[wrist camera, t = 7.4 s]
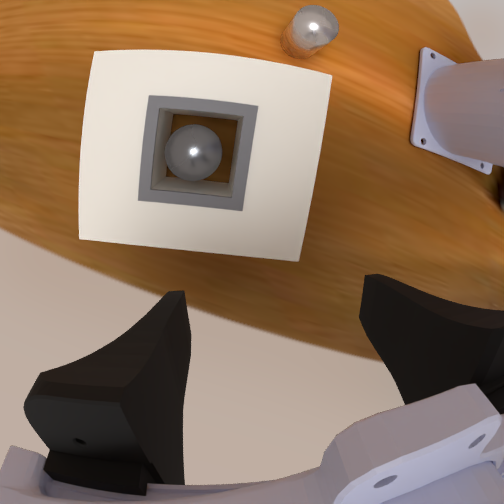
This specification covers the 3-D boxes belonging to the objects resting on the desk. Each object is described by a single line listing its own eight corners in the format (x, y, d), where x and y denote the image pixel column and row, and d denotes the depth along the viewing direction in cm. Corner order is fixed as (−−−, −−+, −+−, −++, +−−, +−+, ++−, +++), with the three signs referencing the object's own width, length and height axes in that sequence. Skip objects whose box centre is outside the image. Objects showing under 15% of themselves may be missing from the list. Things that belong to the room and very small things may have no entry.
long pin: (222, 129, 18) (224, 126, 12) (219, 167, 19) (219, 182, 13) (183, 127, 18) (166, 123, 12) (181, 165, 19) (163, 180, 13)
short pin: (318, 31, 16) (340, 12, 12) (314, 62, 17) (336, 48, 13) (283, 23, 16) (297, 0, 12) (278, 54, 17) (292, 37, 13)
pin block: (307, 86, 18) (333, 74, 13) (282, 235, 21) (299, 263, 17) (120, 67, 16) (93, 50, 11) (105, 216, 19) (78, 240, 15)
